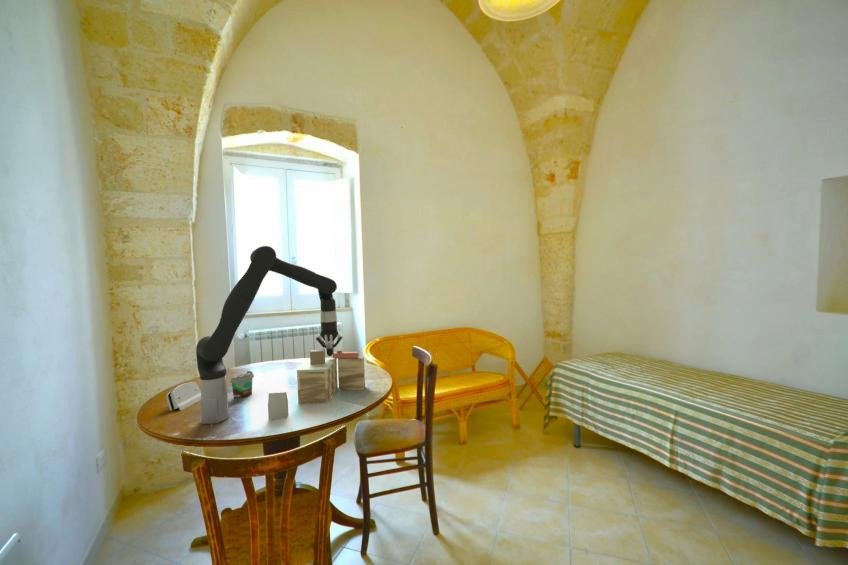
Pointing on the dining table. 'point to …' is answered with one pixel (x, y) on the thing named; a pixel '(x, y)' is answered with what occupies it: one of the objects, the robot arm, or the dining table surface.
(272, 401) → the tea box
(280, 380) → the dining table surface
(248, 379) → the food container
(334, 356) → the key bar
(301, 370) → the lid
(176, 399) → the hinge
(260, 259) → the robot arm
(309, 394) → the wooden box
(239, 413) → the dining table surface
